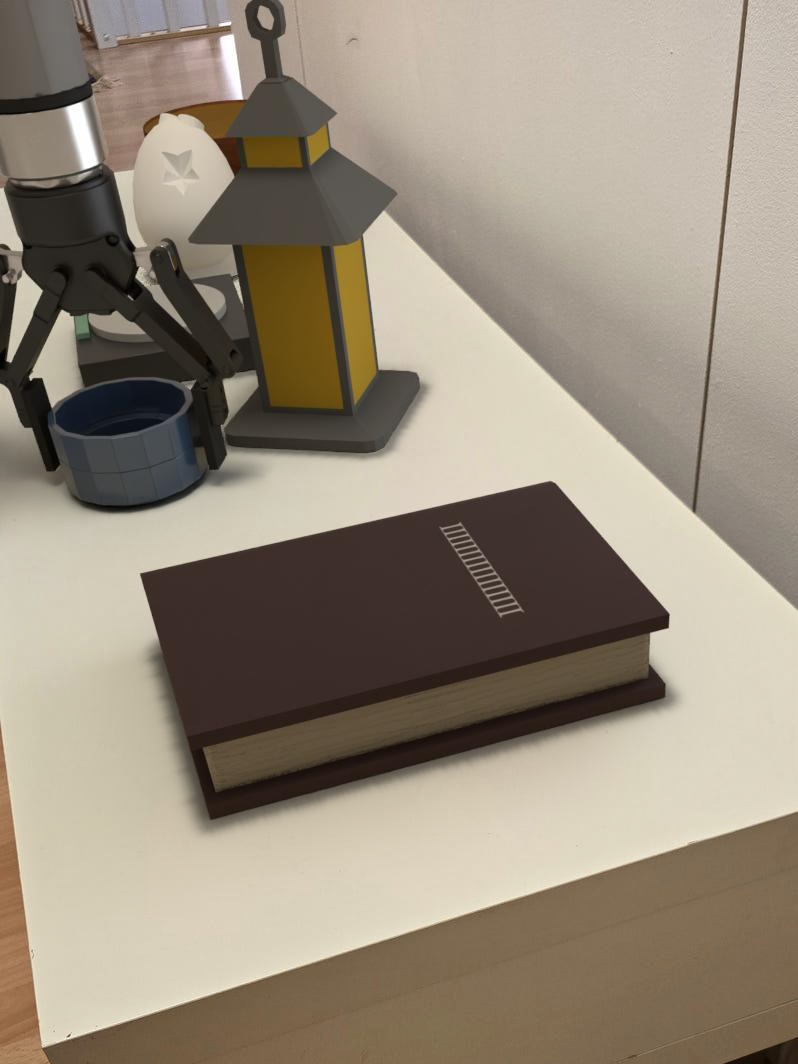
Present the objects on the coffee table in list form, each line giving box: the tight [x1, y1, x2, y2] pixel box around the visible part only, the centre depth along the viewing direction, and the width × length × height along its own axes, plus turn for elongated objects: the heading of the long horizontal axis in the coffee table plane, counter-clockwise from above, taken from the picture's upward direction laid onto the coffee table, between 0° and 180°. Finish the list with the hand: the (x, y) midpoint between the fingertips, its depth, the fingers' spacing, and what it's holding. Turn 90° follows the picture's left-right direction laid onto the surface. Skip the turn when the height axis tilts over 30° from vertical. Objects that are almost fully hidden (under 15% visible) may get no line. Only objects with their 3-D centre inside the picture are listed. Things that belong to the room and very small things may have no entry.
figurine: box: [132, 112, 238, 280], centre depth 128 cm, size 11×11×15 cm
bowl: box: [142, 99, 248, 177], centre depth 146 cm, size 18×18×10 cm
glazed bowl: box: [47, 377, 208, 507], centre depth 97 cm, size 11×11×6 cm
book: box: [139, 480, 671, 820], centre depth 76 cm, size 28×20×6 cm
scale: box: [73, 274, 255, 388], centre depth 118 cm, size 16×18×4 cm
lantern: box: [188, 0, 421, 453], centre depth 96 cm, size 14×14×30 cm
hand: (137, 463), depth 98 cm, fingers open, 13 cm apart
